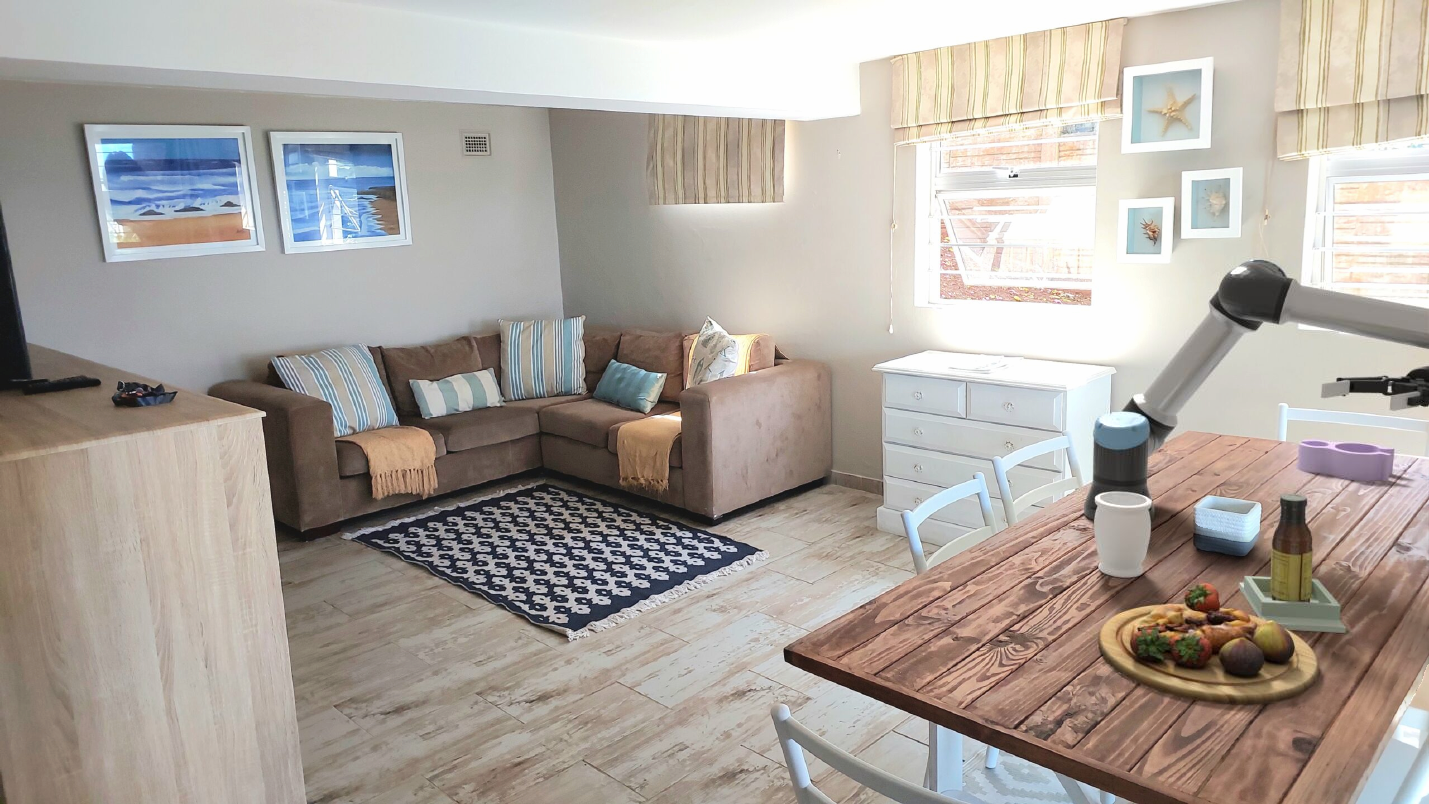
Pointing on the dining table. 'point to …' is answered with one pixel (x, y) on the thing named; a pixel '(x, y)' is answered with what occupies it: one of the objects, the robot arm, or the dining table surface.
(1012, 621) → the dining table surface
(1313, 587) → the stand
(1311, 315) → the robot arm
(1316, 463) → the purple holder
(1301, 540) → the sauce bottle
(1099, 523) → the jar
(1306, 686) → the wooden plate with food
